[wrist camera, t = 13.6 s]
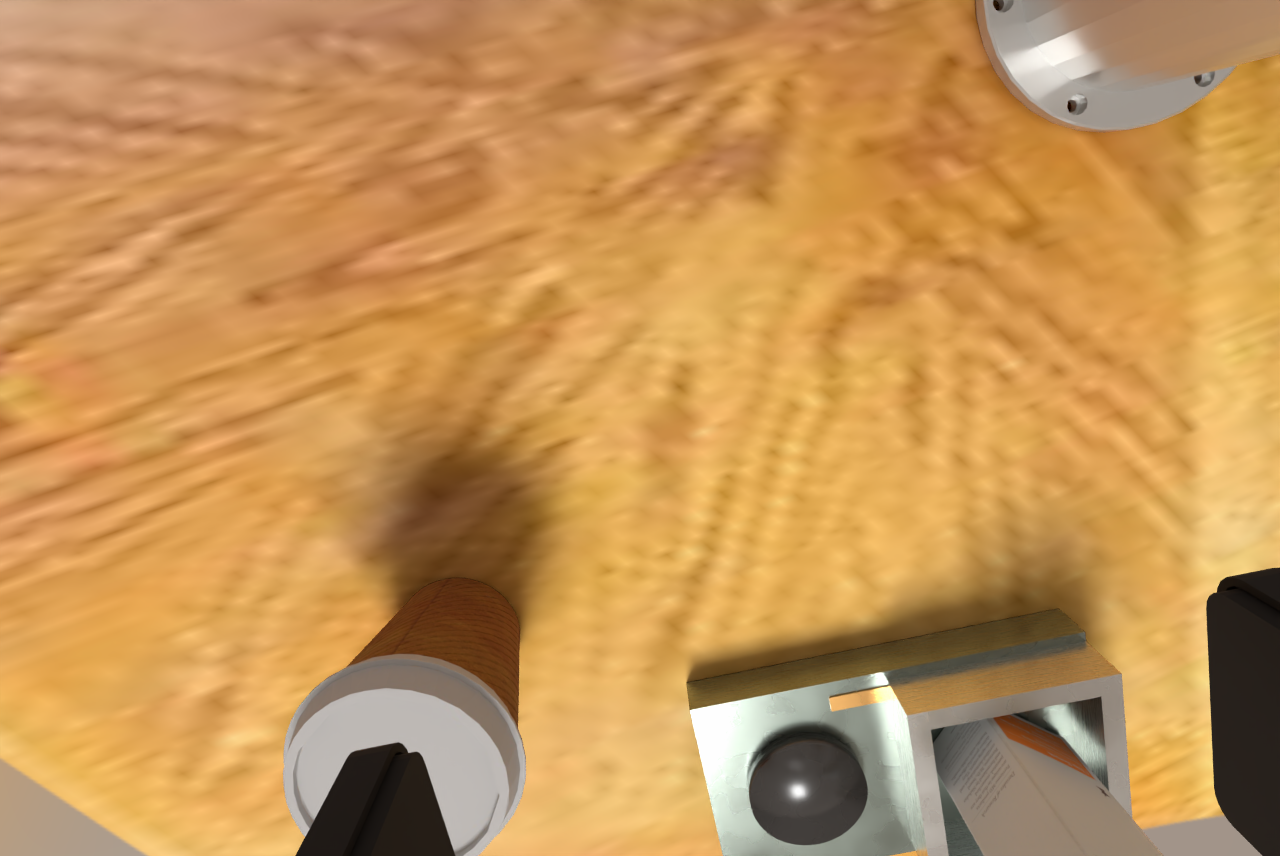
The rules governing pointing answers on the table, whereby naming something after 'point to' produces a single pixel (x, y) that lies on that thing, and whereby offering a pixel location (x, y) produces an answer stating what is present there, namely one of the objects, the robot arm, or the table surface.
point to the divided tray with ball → (892, 735)
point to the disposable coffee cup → (425, 711)
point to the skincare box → (1031, 793)
